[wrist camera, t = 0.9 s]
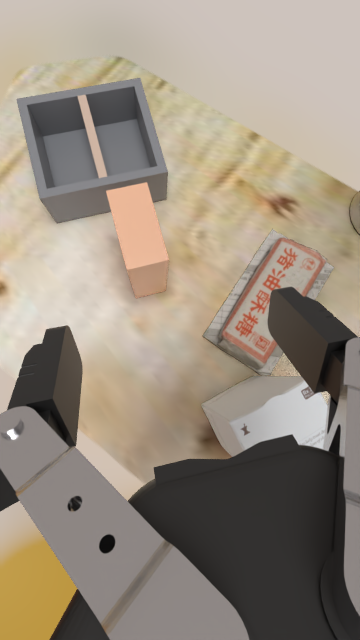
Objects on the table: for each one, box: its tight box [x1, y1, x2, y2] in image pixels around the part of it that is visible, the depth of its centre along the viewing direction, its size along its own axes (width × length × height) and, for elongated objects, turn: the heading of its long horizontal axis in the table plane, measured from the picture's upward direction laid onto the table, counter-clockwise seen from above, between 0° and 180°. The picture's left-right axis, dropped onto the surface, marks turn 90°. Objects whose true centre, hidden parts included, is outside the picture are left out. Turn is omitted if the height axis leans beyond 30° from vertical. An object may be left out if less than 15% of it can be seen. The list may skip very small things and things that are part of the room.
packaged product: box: [203, 229, 334, 376], centre depth 39 cm, size 18×5×10 cm
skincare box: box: [201, 376, 328, 457], centre depth 31 cm, size 8×6×15 cm
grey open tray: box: [17, 78, 168, 223], centre depth 39 cm, size 15×13×6 cm
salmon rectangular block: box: [106, 182, 169, 298], centre depth 34 cm, size 4×8×12 cm, turn 15°
